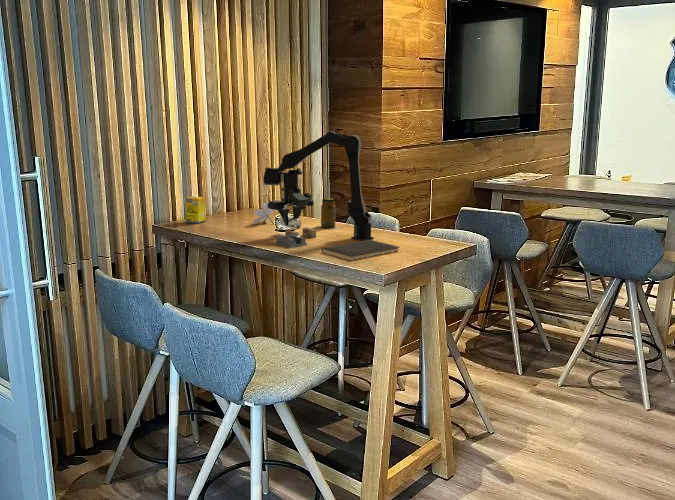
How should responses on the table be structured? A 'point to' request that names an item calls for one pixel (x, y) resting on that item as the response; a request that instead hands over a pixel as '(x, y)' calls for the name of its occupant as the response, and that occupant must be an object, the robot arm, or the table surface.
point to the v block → (290, 241)
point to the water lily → (263, 213)
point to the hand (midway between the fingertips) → (291, 225)
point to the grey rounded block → (306, 232)
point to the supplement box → (195, 210)
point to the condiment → (328, 214)
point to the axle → (291, 223)
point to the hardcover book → (359, 249)
